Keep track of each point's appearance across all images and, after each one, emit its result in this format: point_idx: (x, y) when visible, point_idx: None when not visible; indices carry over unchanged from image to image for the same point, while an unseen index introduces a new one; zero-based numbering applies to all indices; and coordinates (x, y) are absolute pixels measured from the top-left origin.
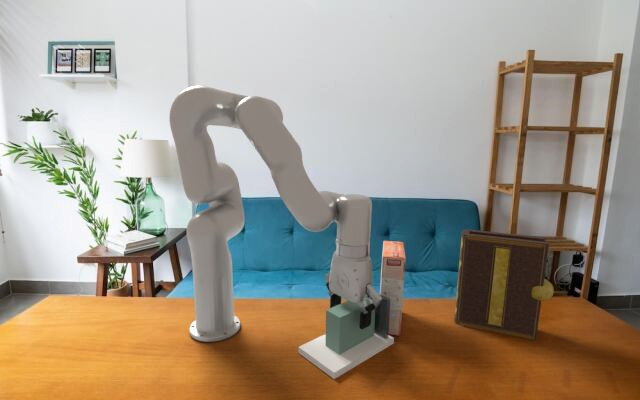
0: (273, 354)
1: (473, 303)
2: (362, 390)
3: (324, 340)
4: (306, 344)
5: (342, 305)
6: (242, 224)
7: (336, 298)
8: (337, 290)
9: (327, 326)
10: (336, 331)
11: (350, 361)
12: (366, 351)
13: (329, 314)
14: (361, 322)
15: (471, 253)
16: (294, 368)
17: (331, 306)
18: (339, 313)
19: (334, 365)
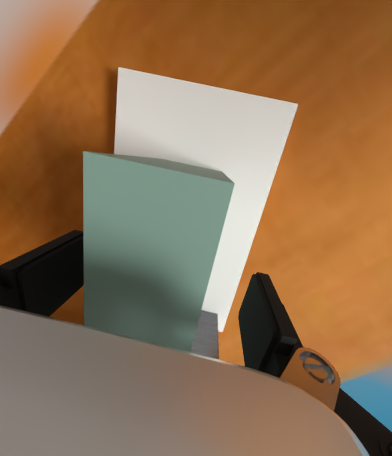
0: (366, 36)
1: None
2: (51, 93)
3: (240, 193)
4: (280, 136)
5: (180, 300)
6: None
7: (259, 348)
8: (177, 425)
9: (215, 173)
10: (154, 160)
11: (119, 152)
12: None
13: (197, 174)
14: (52, 241)
15: None
16: (253, 27)
17: (265, 290)
18: (126, 201)
19: (140, 100)
